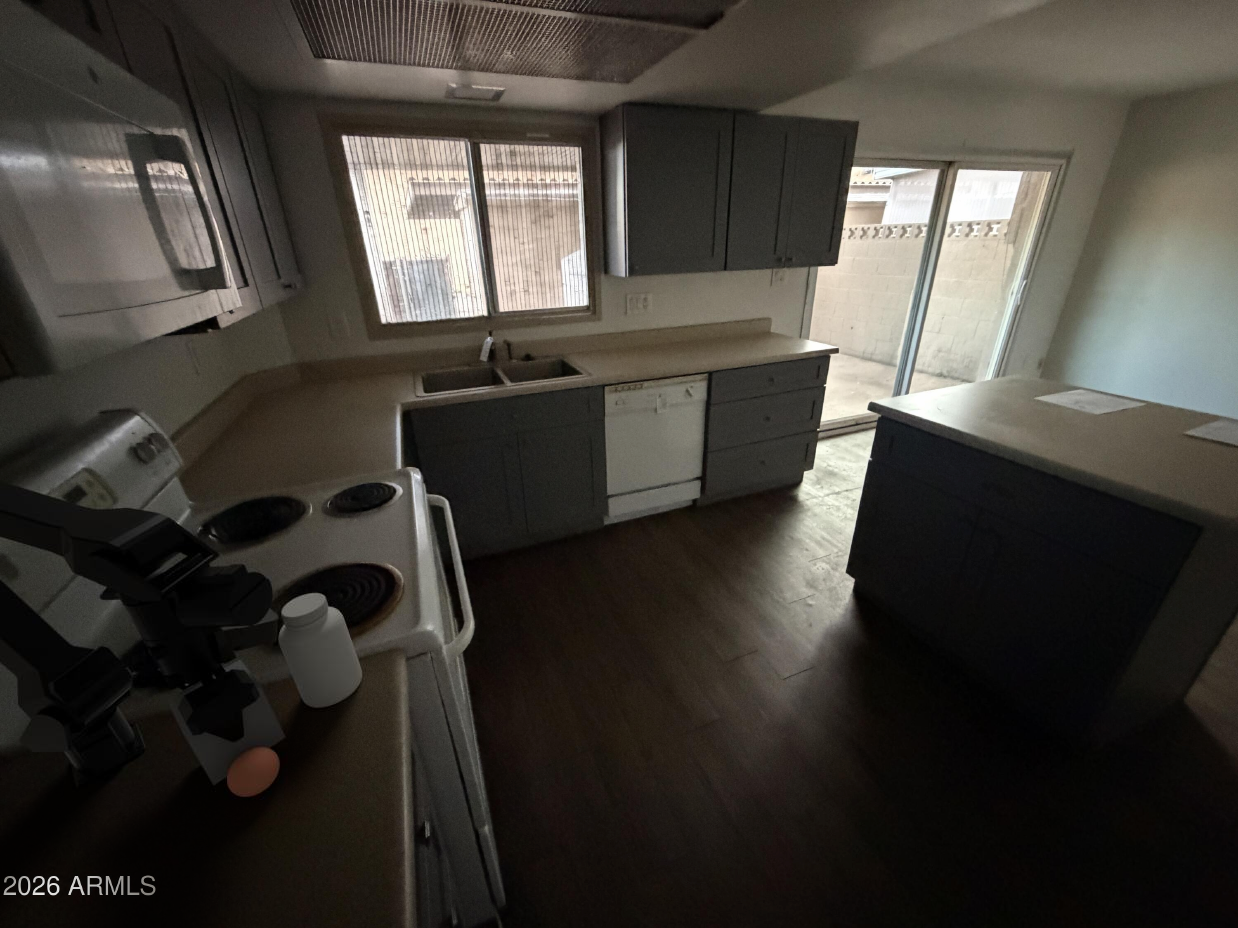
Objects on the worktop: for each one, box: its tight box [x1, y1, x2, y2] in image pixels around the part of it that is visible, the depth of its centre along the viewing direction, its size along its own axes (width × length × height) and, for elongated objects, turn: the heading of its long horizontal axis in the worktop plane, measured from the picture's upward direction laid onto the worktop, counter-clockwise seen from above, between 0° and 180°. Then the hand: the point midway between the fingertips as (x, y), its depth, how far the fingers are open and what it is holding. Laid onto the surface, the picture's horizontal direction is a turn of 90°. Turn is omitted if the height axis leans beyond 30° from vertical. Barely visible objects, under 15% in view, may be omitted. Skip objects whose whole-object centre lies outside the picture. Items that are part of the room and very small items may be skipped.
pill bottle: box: [277, 592, 363, 709], centre depth 70 cm, size 8×8×15 cm
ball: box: [226, 747, 281, 798], centre depth 59 cm, size 5×5×5 cm
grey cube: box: [166, 659, 286, 786], centre depth 61 cm, size 8×8×9 cm
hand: (228, 721), depth 62 cm, fingers closed on grey cube, 8 cm apart
